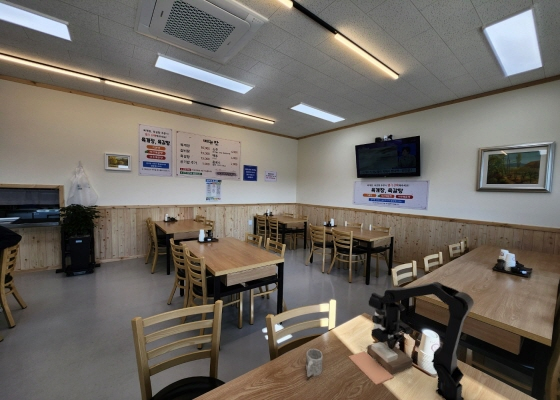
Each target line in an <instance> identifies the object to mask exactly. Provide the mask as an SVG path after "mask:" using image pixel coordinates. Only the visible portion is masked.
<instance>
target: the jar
mask: <svg viewBox="0 0 560 400" xmlns="http://www.w3.org/2000/svg"><path fill="white" fill-rule="evenodd" d="M385 311H386V310H383V311H382V312H381V311H379V310H377V309H375V308H374V315H376V316H378V315H384V316H385ZM376 328H380V329H381V330H385V328H383V327H381V325H380V324H376V323H373V329H376Z"/></svg>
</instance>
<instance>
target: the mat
mask: <svg viewBox="0 0 560 400" xmlns="http://www.w3.org/2000/svg"><path fill="white" fill-rule="evenodd" d="M348 359H349V360H350V361H352V363H354V365H355V366H356V367H357V368H358V369H360V371H362V373H363V374H364V375H365V376H366V377H367V378H368V379H369V380H370V381H371V382H373V384H374V385H376V386H378V385H380V384H382V383H384V382H387V381H389V380H392V379H394V375H391V374H390V373H389V372H388V371H387V370H386V369H385V368H383V367H382V366H381V365H380V364H379V363H378V362H377V361H376V360H374V359H373V358H372V357H371V356H370V355H369V354H368V353H367V351H366V350H365V351H361V352H357V353H354V354H352V355H349V356H348Z"/></svg>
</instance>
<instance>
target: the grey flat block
mask: <svg viewBox="0 0 560 400" xmlns="http://www.w3.org/2000/svg"><path fill="white" fill-rule="evenodd" d="M371 349H372V350H373V351H374V352H376V353H377V354H378V355H379V356H380V357H381V358H383V359H384V360H385V361H386V362H387V363H388V362H391V361H394V360H396V359H398V354H397V353H395V352H394V351H393V350H391V349H390V348H389V347H388V346H386V345H385V344H384V343H382V342H380V341H378V343H377V342H375V344H374V343H372V347H371Z"/></svg>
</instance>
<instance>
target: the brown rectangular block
mask: <svg viewBox="0 0 560 400" xmlns="http://www.w3.org/2000/svg"><path fill="white" fill-rule="evenodd" d="M378 342H379V341H378ZM378 342H375V343H378ZM375 343H372V344H375ZM383 343H384V344H385V345H386V346H388V344H387V341H386V342H383ZM372 344H369V345H366V346H367V347H366V353H367V354H368V355H370V356H371V357H372V358H373V359H374V360H375V361H376V362H377V363H379V364H380V365H381V366H382V367H383V368H384V369H385V370H386V371H388V372H389V373H390V374H391V375H392V376H395V375H397V374H399V373H402V372H404V371H406V370H409V369H411V368H413V358H411V357H410V356H409V355H407V354H406V353H405V352H403V350H400V348H398V347H397V346H395V347H394V348H393V349H392V350H393V351H394V352H395V353H397V354H398V359H396V360H394V361H391V362H388V363H387V362H386V361H385V360H384V359H383V358H381V357H380V356H379V355H378V354H377V353H376V352H374V351H373V350H372V349H371V347H372Z"/></svg>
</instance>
